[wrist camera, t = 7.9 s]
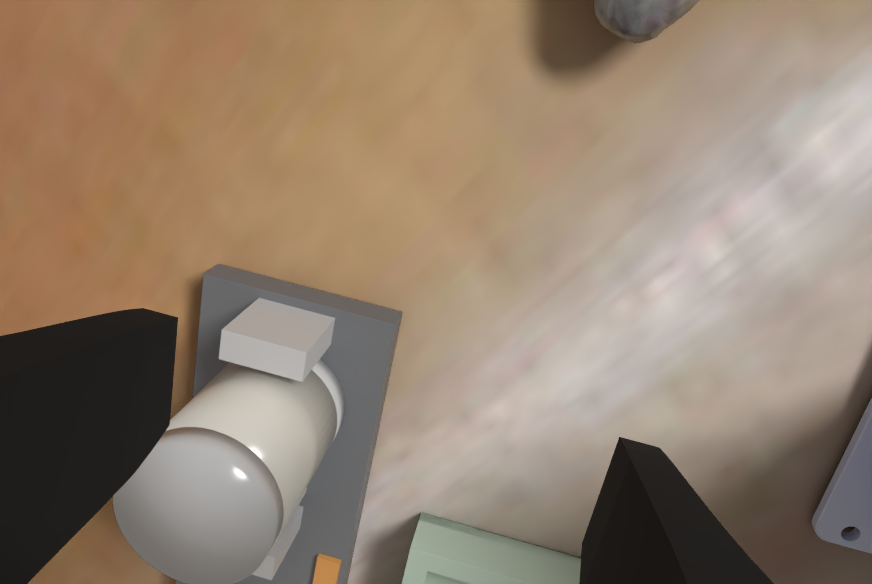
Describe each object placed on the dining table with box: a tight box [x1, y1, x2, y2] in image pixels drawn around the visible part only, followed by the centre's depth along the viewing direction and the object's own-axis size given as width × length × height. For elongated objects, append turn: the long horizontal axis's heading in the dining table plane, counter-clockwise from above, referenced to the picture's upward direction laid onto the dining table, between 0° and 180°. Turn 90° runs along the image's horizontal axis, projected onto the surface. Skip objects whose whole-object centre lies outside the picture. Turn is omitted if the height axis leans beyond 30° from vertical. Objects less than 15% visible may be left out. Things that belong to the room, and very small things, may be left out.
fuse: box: [113, 358, 345, 584], centre depth 20 cm, size 4×4×6 cm
